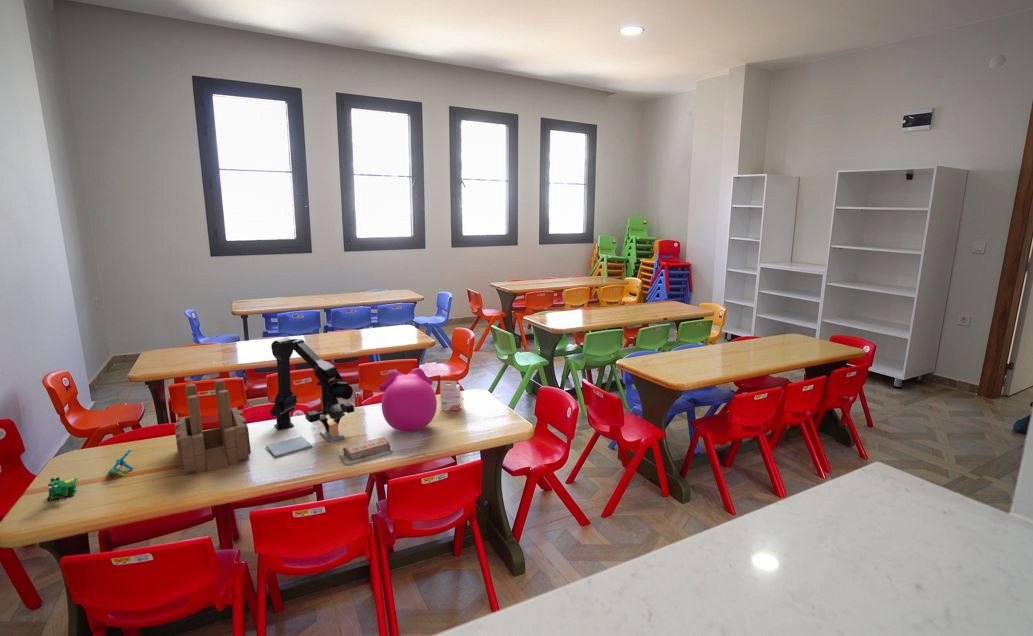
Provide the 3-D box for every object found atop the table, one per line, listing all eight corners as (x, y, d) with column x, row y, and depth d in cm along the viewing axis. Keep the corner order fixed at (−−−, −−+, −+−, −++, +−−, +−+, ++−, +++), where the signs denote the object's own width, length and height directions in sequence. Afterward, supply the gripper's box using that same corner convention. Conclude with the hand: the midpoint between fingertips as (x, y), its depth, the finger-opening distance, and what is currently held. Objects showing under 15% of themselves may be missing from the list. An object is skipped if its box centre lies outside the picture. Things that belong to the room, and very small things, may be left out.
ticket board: (266, 447, 207) (266, 445, 206) (302, 438, 215) (302, 435, 215) (275, 458, 198) (275, 455, 197) (312, 447, 206) (312, 444, 206)
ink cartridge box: (461, 407, 249) (460, 378, 246) (458, 411, 244) (457, 381, 241) (443, 406, 250) (442, 377, 247) (440, 410, 245) (439, 380, 242)
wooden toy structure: (181, 479, 182) (170, 405, 177) (178, 448, 207) (169, 383, 201) (253, 461, 195) (245, 392, 190) (242, 434, 219) (235, 373, 214)
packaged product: (383, 433, 209) (392, 442, 200) (384, 444, 210) (393, 454, 201) (337, 444, 199) (345, 454, 191) (338, 456, 200) (346, 466, 192)
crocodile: (63, 481, 181) (59, 458, 179) (84, 478, 184) (80, 455, 182) (44, 510, 164) (39, 484, 162) (68, 505, 166) (63, 480, 165)
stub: (319, 433, 220) (318, 419, 219) (333, 429, 224) (332, 416, 223) (330, 442, 211) (329, 428, 210) (344, 438, 215) (343, 424, 214)
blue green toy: (116, 461, 192) (132, 443, 191) (131, 469, 195) (147, 452, 193) (98, 479, 182) (116, 460, 181) (114, 488, 184) (132, 469, 183)
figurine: (431, 415, 239) (429, 363, 234) (443, 435, 217) (441, 378, 212) (379, 422, 231) (376, 368, 226) (386, 444, 209) (382, 385, 204)
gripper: (313, 406, 202) (316, 443, 205) (358, 395, 214) (361, 431, 217) (303, 399, 210) (306, 435, 213) (347, 389, 222) (350, 423, 225)
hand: (331, 431), depth 217 cm, fingers closed on stub, 3 cm apart
